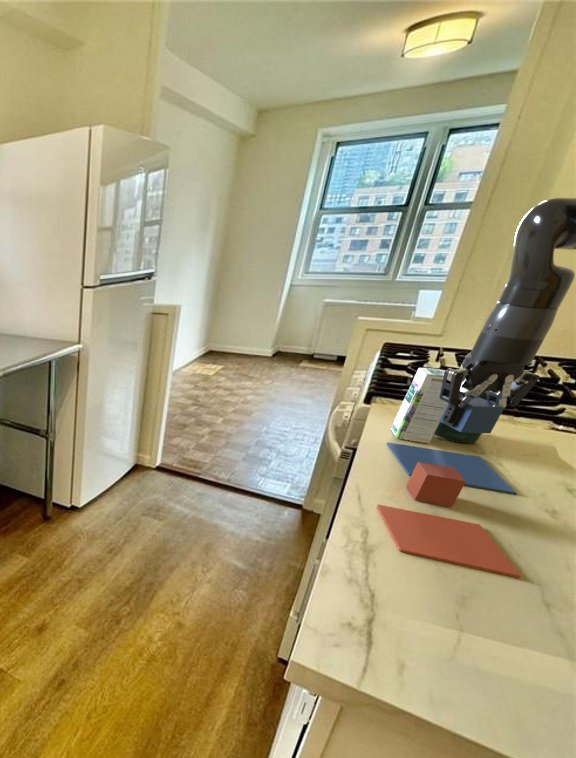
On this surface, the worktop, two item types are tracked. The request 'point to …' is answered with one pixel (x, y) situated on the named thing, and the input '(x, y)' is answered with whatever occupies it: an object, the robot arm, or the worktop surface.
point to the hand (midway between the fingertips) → (465, 425)
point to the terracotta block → (435, 484)
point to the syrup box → (421, 407)
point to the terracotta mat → (445, 540)
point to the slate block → (478, 416)
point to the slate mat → (452, 466)
